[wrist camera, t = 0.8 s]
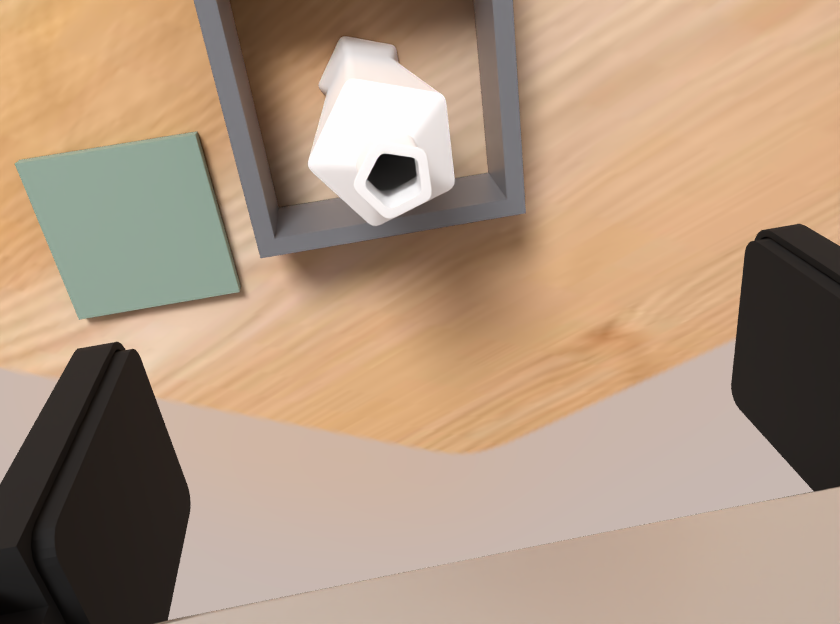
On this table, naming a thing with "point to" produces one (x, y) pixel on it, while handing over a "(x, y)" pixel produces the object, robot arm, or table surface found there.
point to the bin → (335, 217)
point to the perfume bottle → (380, 133)
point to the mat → (132, 224)
